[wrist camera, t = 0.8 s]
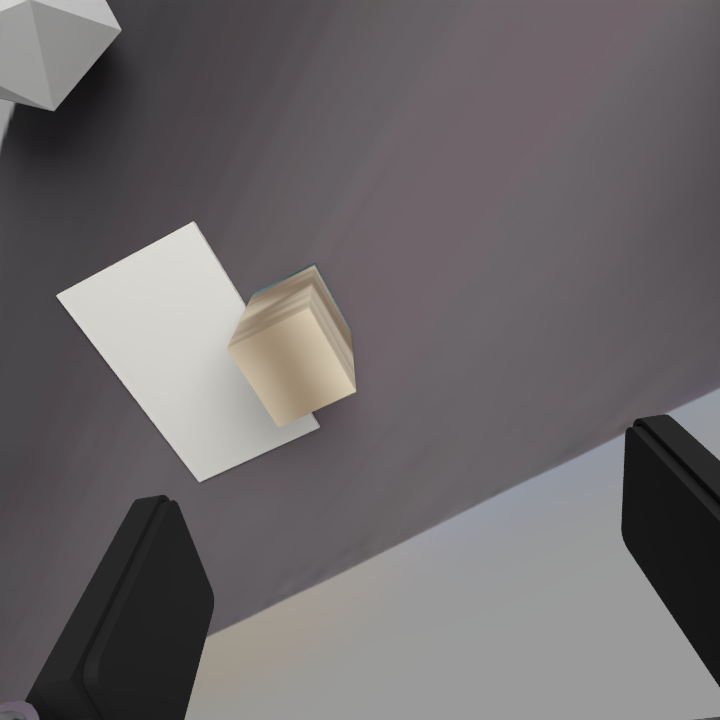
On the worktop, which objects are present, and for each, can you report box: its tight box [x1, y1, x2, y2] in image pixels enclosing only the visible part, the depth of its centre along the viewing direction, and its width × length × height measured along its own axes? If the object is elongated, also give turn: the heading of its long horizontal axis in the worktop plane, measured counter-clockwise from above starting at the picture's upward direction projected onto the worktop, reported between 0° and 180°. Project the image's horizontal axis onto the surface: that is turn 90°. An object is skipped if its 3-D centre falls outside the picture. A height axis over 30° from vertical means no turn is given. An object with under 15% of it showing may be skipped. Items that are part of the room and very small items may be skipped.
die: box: [0, 0, 122, 111], centre depth 24 cm, size 8×9×10 cm
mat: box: [56, 221, 320, 482], centre depth 35 cm, size 10×16×1 cm, turn 26°
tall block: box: [227, 263, 356, 427], centre depth 30 cm, size 4×5×9 cm
